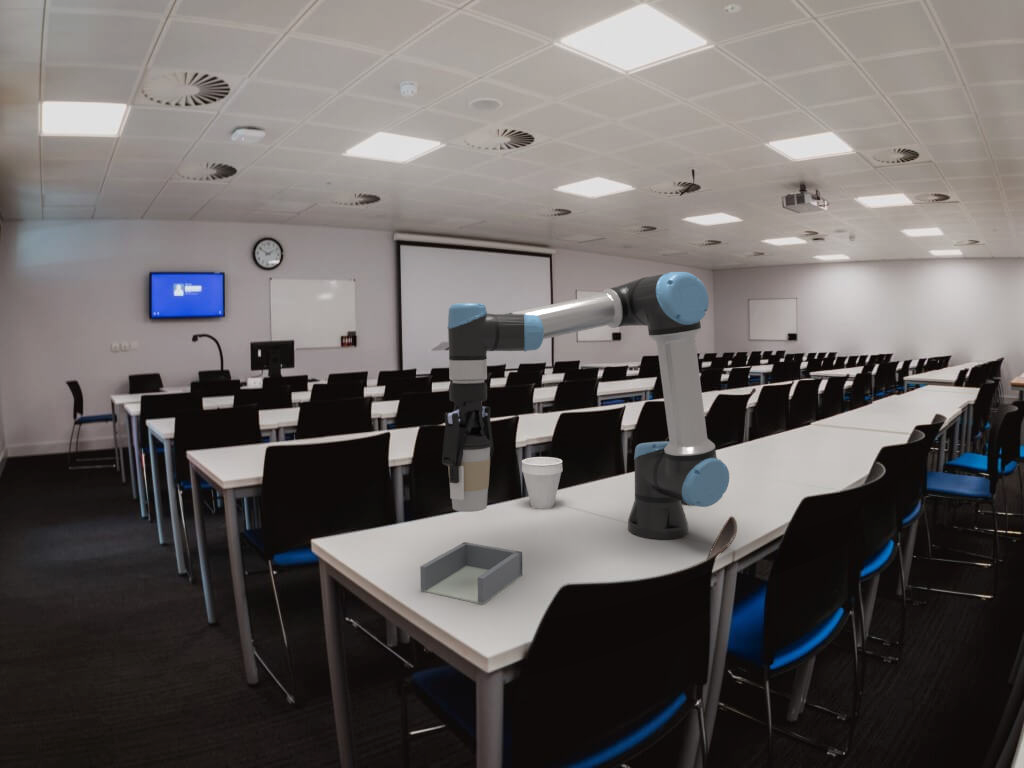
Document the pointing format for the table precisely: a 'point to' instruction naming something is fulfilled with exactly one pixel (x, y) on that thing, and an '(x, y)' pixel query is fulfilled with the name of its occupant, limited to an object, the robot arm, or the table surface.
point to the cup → (542, 480)
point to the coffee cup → (474, 474)
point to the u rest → (471, 572)
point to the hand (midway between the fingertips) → (469, 493)
